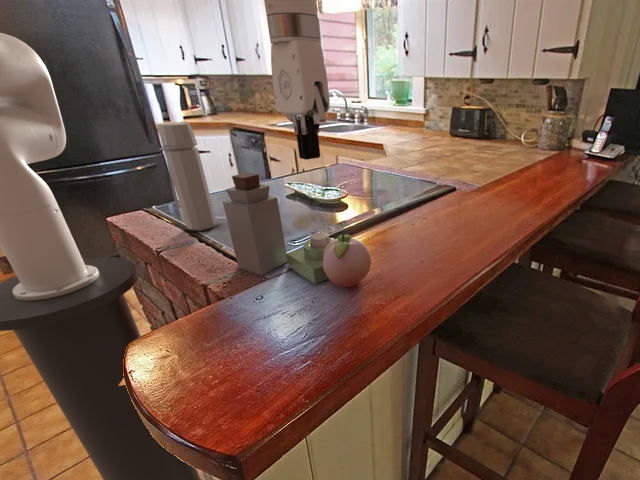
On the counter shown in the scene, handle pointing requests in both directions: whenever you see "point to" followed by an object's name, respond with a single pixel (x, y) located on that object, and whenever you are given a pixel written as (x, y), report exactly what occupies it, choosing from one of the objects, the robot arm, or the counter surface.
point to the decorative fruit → (346, 261)
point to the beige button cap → (319, 240)
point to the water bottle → (187, 175)
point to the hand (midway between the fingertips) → (310, 157)
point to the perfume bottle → (254, 225)
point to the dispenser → (308, 262)
